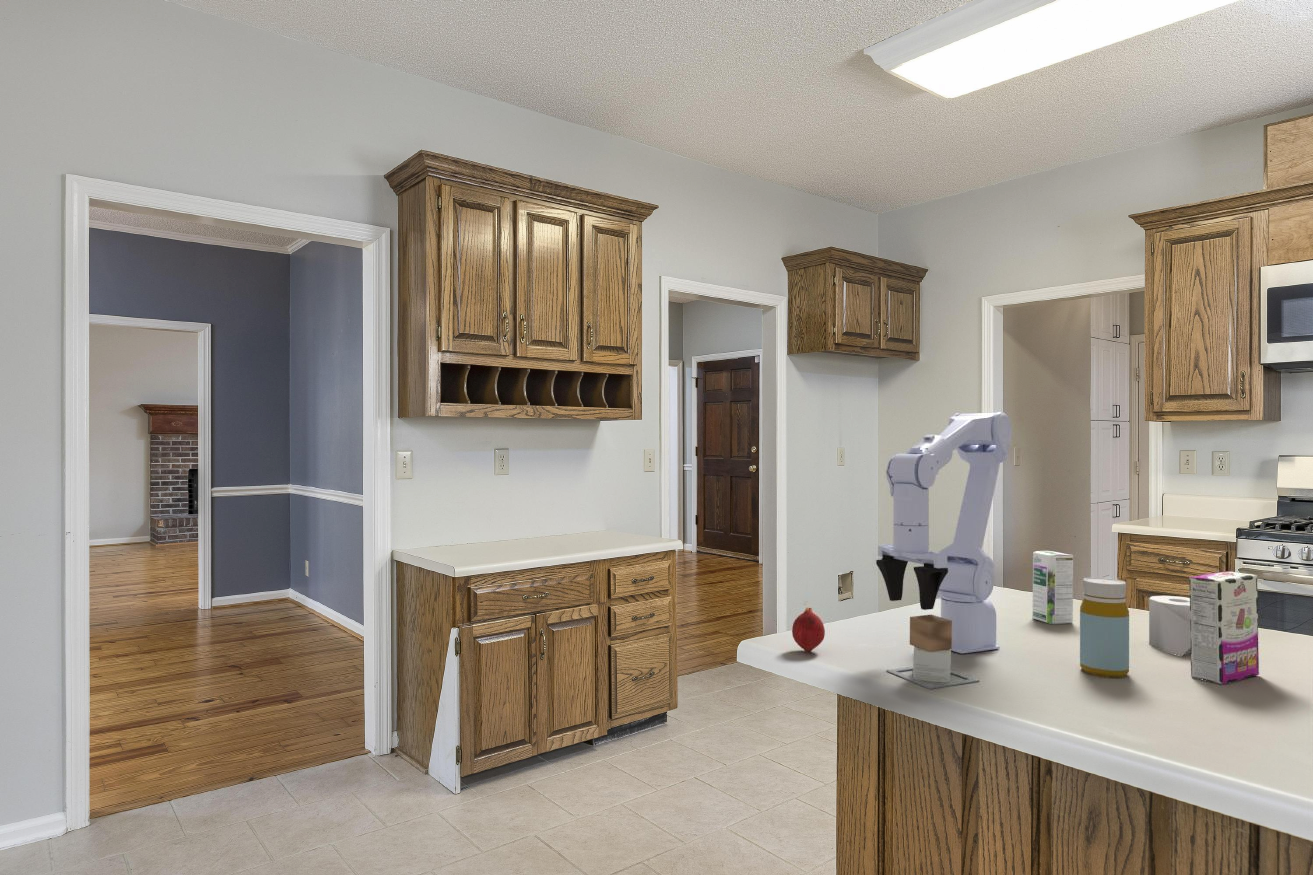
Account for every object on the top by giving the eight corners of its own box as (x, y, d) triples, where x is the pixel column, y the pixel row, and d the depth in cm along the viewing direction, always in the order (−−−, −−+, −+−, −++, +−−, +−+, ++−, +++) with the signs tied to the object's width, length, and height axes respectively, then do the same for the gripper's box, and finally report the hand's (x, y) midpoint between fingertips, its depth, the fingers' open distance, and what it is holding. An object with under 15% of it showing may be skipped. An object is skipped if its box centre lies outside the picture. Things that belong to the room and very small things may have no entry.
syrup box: (1031, 618, 168) (1031, 550, 168) (1054, 617, 169) (1054, 550, 169) (1050, 624, 162) (1050, 554, 162) (1074, 623, 164) (1074, 553, 164)
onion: (824, 657, 137) (825, 611, 137) (791, 655, 138) (791, 609, 138) (824, 648, 143) (824, 604, 143) (792, 646, 144) (792, 603, 144)
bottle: (1123, 668, 131) (1123, 578, 131) (1133, 680, 124) (1133, 585, 124) (1076, 664, 133) (1076, 576, 133) (1084, 676, 126) (1084, 583, 126)
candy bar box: (1225, 668, 131) (1226, 570, 131) (1260, 675, 127) (1260, 574, 127) (1187, 676, 126) (1187, 575, 126) (1221, 685, 122) (1221, 580, 122)
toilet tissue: (1180, 659, 137) (1181, 609, 137) (1139, 639, 150) (1139, 595, 150) (1235, 660, 136) (1235, 610, 136) (1189, 641, 149) (1189, 595, 149)
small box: (951, 684, 122) (951, 652, 122) (912, 680, 124) (912, 649, 124) (950, 674, 127) (951, 644, 127) (913, 670, 129) (914, 640, 129)
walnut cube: (931, 641, 129) (931, 614, 129) (951, 648, 125) (951, 620, 125) (909, 644, 127) (909, 616, 127) (929, 651, 123) (929, 623, 123)
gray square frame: (933, 664, 132) (933, 663, 132) (979, 681, 123) (979, 680, 123) (886, 671, 128) (886, 670, 128) (929, 689, 119) (929, 687, 119)
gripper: (864, 521, 138) (864, 598, 138) (923, 530, 124) (923, 615, 124) (895, 519, 141) (895, 595, 141) (957, 527, 127) (957, 611, 127)
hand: (911, 604), depth 133 cm, fingers open, 7 cm apart
